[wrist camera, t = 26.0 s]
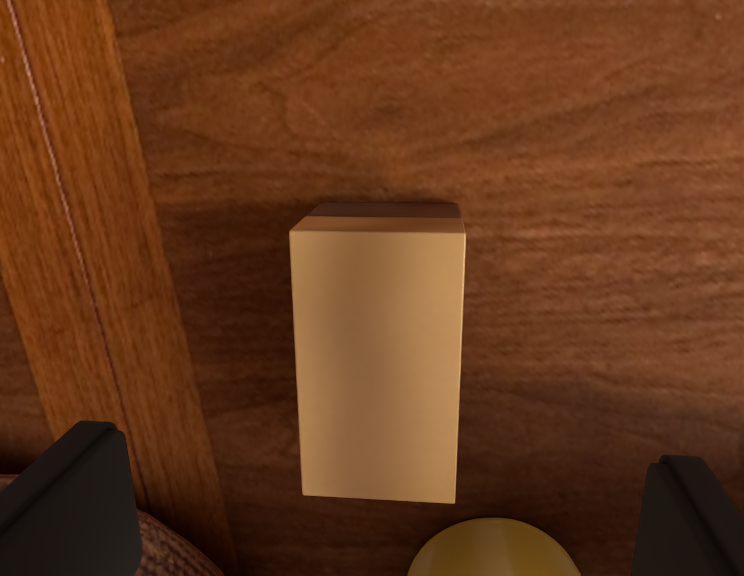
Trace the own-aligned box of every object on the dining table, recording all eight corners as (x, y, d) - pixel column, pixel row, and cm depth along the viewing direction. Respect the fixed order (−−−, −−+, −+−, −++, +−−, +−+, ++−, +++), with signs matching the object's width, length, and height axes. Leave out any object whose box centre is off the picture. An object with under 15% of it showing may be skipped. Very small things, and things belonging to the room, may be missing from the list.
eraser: (458, 202, 19) (466, 232, 15) (450, 424, 22) (455, 504, 17) (320, 201, 20) (288, 230, 15) (327, 418, 22) (302, 496, 18)
